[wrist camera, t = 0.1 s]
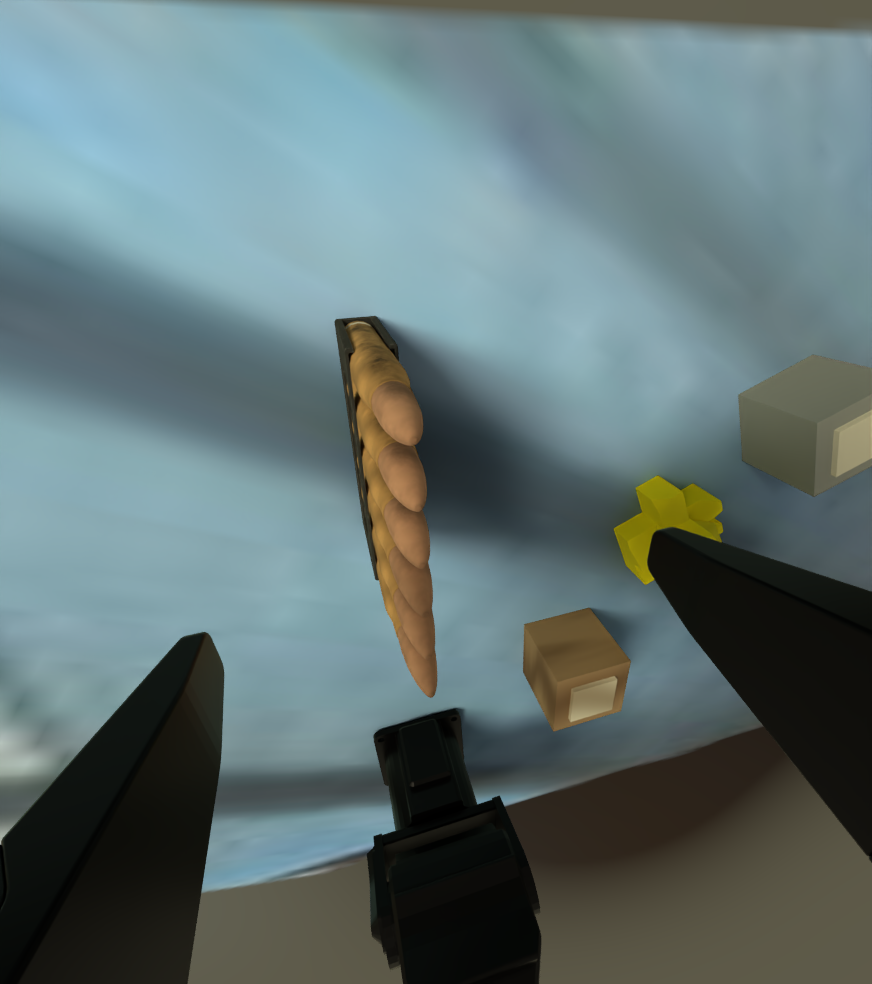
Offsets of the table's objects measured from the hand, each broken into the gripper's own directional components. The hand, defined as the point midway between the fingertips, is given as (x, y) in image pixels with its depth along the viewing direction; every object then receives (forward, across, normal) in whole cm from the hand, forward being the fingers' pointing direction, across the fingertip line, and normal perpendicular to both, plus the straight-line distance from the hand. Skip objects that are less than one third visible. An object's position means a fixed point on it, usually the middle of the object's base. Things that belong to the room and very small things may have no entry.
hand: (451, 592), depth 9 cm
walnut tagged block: (+15, -11, +21) cm, 28 cm away
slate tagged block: (+15, -25, +5) cm, 29 cm away
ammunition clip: (+15, 0, +2) cm, 15 cm away
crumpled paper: (+15, -18, +12) cm, 26 cm away
